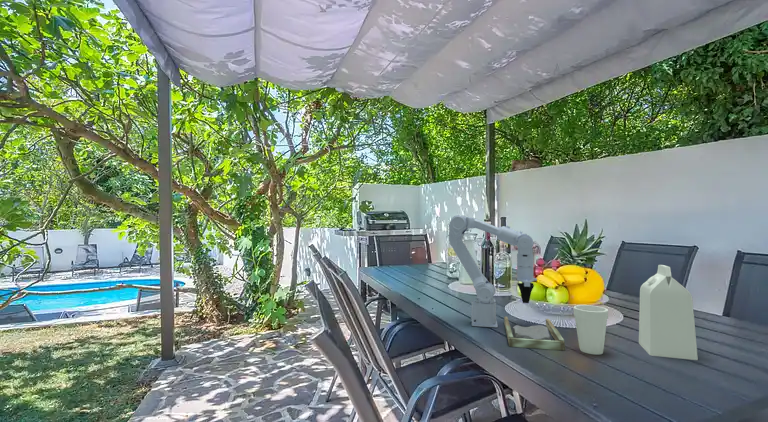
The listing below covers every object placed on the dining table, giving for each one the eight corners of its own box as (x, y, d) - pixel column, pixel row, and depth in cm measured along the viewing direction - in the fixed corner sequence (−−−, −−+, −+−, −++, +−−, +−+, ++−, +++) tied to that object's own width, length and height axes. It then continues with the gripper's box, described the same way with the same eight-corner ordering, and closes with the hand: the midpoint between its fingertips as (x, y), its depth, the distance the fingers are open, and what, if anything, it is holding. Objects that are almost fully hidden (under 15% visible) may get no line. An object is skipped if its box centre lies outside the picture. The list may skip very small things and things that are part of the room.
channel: (508, 346, 122) (508, 337, 122) (504, 322, 149) (503, 315, 149) (565, 350, 117) (565, 341, 117) (549, 325, 145) (549, 318, 145)
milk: (697, 360, 109) (695, 269, 109) (650, 355, 112) (648, 267, 113) (681, 346, 120) (679, 264, 120) (638, 343, 124) (636, 263, 124)
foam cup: (605, 347, 120) (604, 306, 120) (612, 357, 111) (611, 313, 111) (572, 344, 123) (571, 304, 123) (576, 354, 114) (575, 310, 114)
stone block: (553, 350, 123) (547, 335, 133) (553, 336, 122) (546, 322, 132) (515, 349, 126) (511, 334, 135) (514, 336, 125) (511, 322, 135)
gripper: (539, 269, 134) (539, 307, 134) (534, 264, 148) (534, 299, 148) (517, 268, 136) (518, 306, 136) (515, 263, 150) (515, 298, 150)
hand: (525, 302), depth 142 cm, fingers closed
